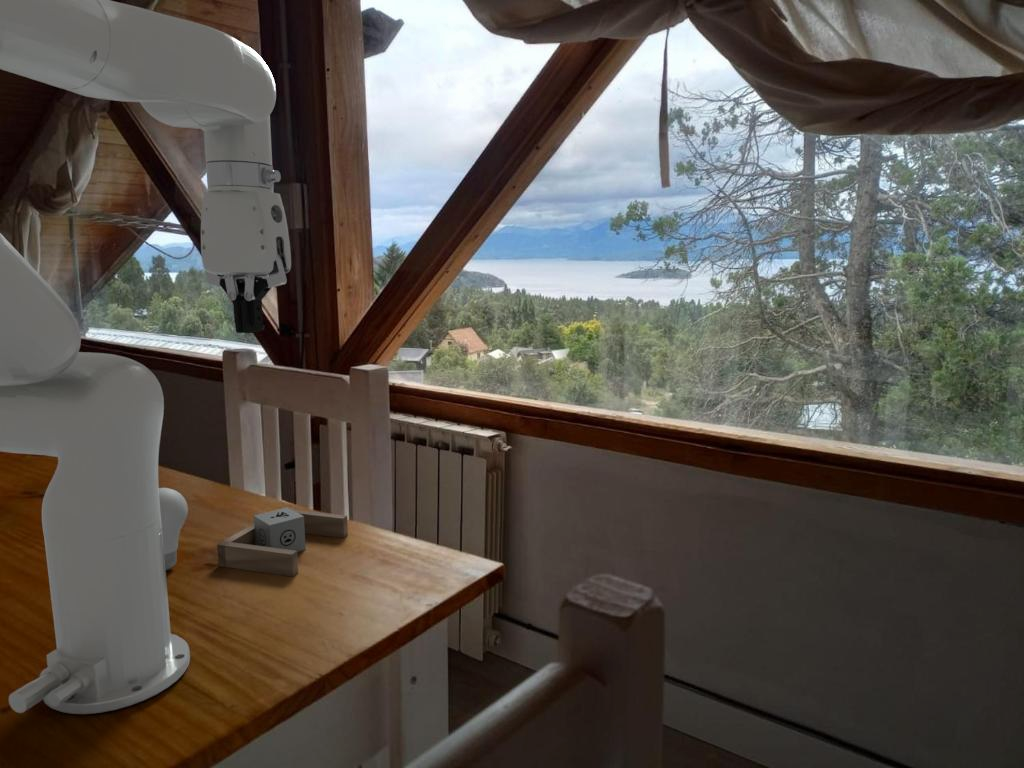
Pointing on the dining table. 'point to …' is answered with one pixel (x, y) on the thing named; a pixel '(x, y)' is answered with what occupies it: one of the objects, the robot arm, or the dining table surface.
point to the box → (248, 556)
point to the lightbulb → (171, 522)
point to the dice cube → (280, 529)
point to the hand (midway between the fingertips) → (249, 331)
